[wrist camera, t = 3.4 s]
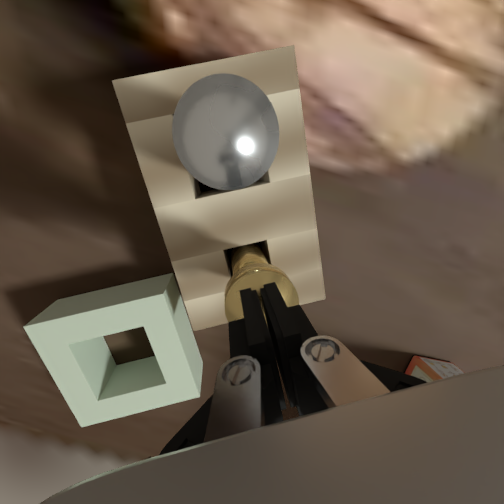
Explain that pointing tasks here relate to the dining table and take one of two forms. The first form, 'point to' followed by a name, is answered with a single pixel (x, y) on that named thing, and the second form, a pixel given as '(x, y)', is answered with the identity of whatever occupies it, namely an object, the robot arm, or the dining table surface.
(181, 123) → the steel rod
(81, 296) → the block
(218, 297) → the socket block
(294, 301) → the brass knobbed peg
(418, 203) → the dining table surface
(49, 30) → the dining table surface
